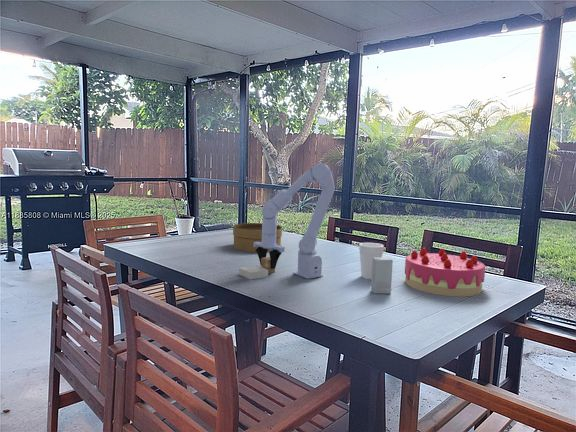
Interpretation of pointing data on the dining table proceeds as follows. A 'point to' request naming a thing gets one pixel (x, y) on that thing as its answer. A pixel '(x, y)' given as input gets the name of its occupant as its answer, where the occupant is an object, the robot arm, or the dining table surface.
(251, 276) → the tile block
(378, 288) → the skincare box
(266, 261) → the oak block
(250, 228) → the steamer basket
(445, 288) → the cake
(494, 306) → the dining table surface
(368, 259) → the foam cup
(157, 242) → the dining table surface
